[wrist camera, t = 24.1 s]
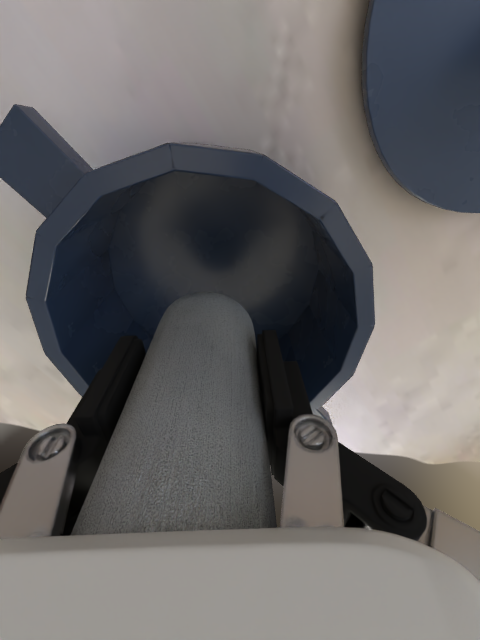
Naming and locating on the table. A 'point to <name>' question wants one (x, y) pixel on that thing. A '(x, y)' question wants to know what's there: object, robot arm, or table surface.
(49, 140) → the pot
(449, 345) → the table surface
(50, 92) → the table surface
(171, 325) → the grey tube
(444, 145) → the lid
